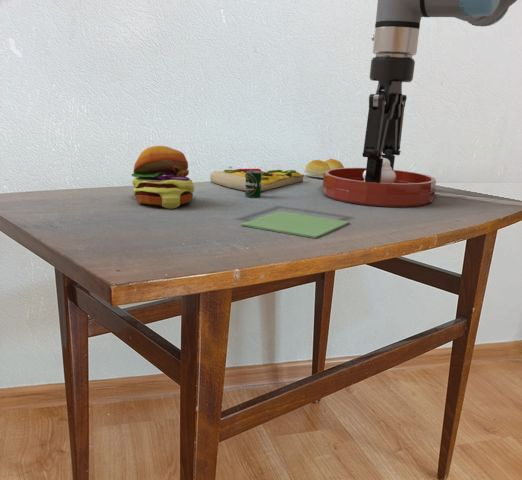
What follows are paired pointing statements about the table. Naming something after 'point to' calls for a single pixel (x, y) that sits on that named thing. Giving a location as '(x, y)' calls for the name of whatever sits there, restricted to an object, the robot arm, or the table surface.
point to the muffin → (385, 172)
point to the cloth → (296, 224)
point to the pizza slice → (268, 179)
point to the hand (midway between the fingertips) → (377, 192)
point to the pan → (378, 188)
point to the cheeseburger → (162, 178)
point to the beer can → (253, 184)
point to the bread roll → (321, 167)
